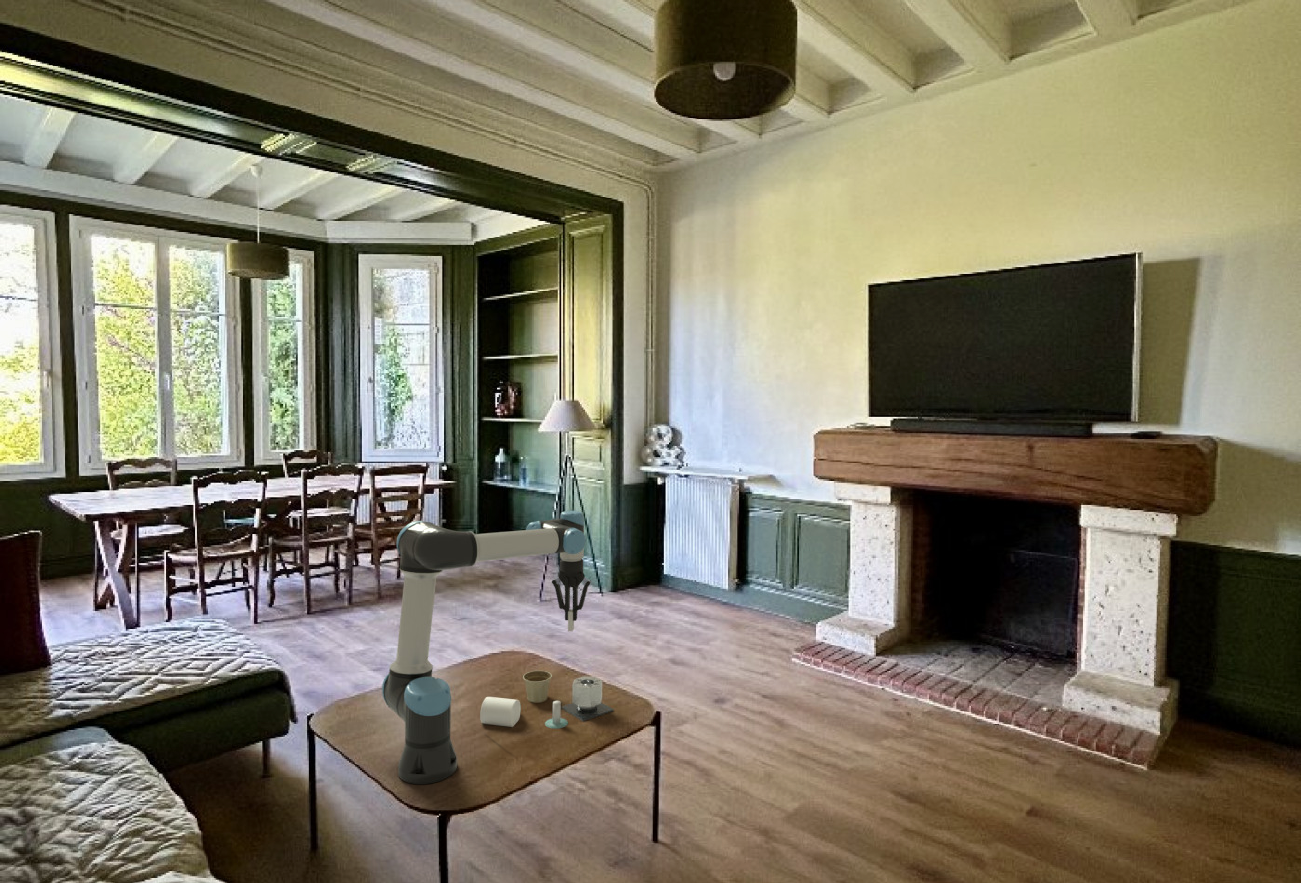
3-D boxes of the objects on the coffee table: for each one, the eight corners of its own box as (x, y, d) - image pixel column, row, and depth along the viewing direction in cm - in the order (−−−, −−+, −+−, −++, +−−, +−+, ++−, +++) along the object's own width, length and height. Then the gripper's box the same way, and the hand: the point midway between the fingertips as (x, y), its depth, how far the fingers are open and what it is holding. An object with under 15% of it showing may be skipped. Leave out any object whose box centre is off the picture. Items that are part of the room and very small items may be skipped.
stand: (553, 733, 216) (553, 709, 216) (540, 725, 221) (540, 701, 221) (572, 727, 221) (572, 703, 220) (559, 719, 226) (559, 695, 225)
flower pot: (543, 709, 233) (543, 683, 232) (517, 705, 236) (517, 679, 235) (556, 698, 242) (556, 672, 241) (531, 693, 245) (531, 668, 244)
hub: (582, 724, 223) (583, 695, 222) (560, 711, 232) (561, 682, 231) (613, 713, 230) (614, 685, 230) (591, 701, 240) (591, 673, 239)
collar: (599, 707, 226) (599, 688, 225) (570, 705, 226) (570, 687, 226) (603, 695, 235) (603, 677, 234) (575, 694, 235) (576, 676, 235)
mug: (510, 732, 217) (511, 706, 216) (479, 728, 219) (479, 703, 218) (525, 715, 229) (525, 690, 228) (496, 711, 231) (496, 687, 230)
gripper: (593, 557, 238) (592, 627, 240) (554, 555, 239) (553, 625, 241) (589, 562, 231) (588, 634, 233) (549, 560, 232) (548, 632, 234)
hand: (570, 629), depth 237 cm, fingers closed
